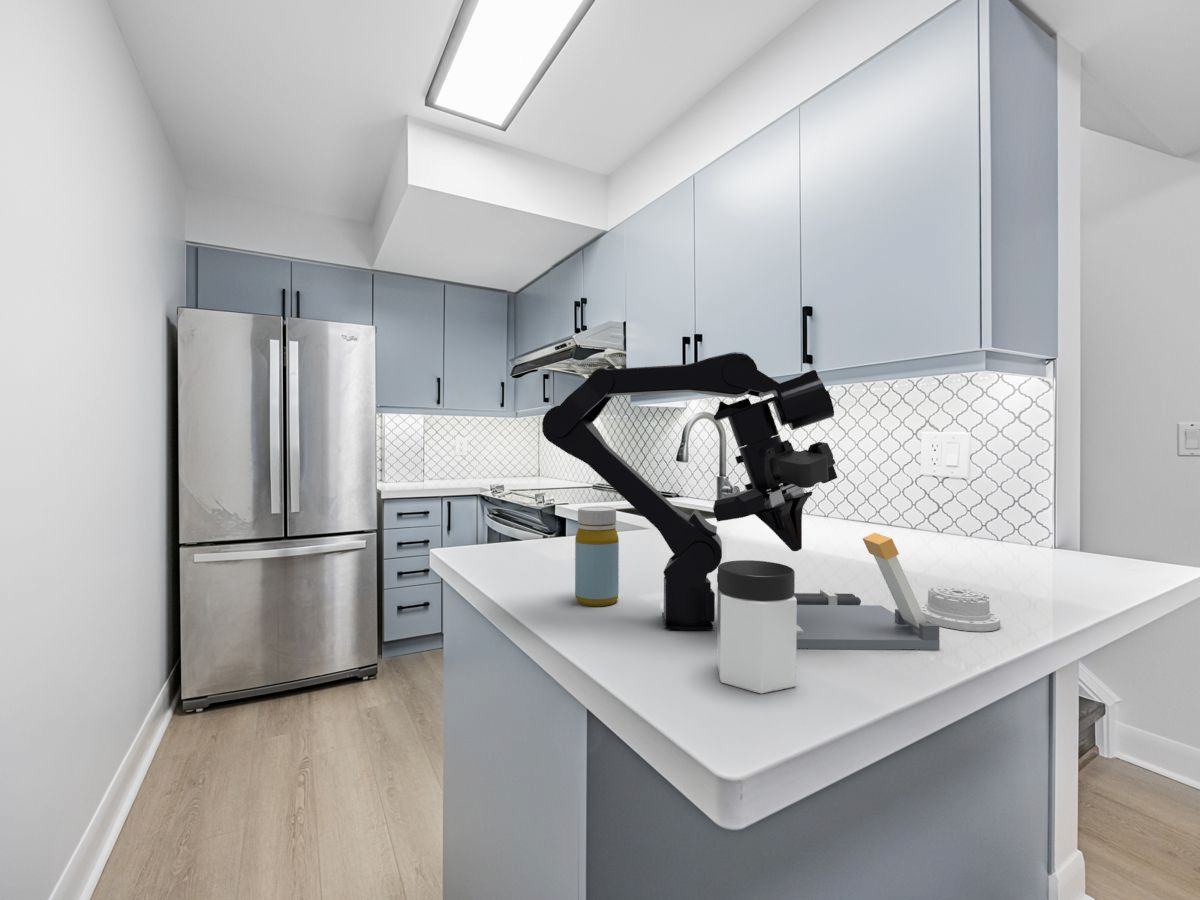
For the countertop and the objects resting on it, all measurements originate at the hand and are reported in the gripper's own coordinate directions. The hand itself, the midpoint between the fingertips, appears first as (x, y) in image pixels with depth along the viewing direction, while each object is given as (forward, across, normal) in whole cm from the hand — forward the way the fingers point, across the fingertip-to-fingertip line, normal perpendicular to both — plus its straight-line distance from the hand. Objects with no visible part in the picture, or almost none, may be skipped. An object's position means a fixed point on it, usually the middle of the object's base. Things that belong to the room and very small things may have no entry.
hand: (797, 550), depth 76 cm
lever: (+13, +8, -7) cm, 17 cm away
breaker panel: (+12, +2, +1) cm, 12 cm away
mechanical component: (+18, +21, -4) cm, 28 cm away
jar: (+9, -18, -6) cm, 21 cm away
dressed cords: (+11, +7, +11) cm, 17 cm away
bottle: (+1, -18, +27) cm, 33 cm away
